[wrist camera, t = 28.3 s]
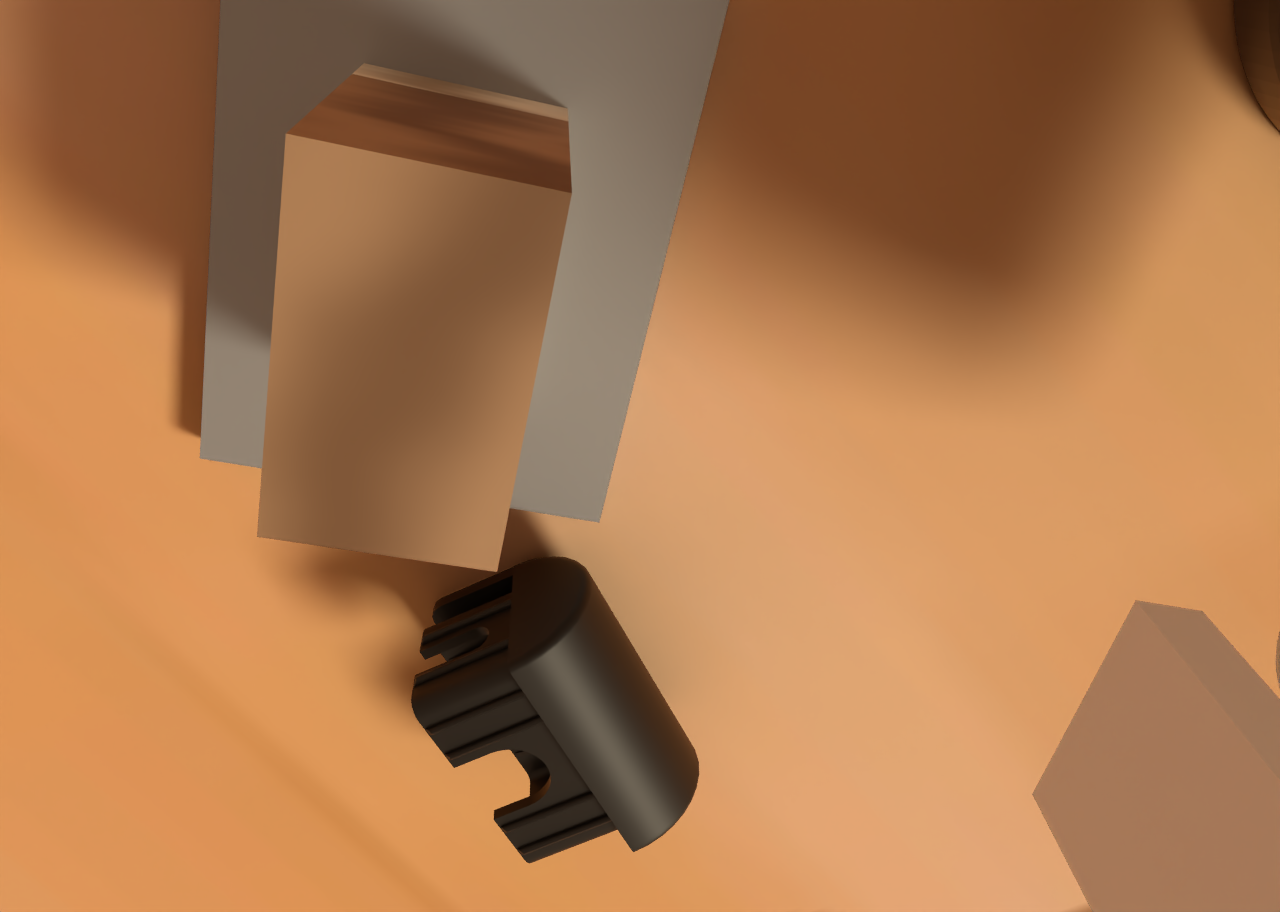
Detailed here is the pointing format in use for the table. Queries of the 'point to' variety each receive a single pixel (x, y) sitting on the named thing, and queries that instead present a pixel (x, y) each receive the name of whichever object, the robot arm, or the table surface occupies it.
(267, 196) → the gray board
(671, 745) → the end cap
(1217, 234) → the table surface
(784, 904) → the table surface
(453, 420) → the walnut box
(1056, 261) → the table surface
